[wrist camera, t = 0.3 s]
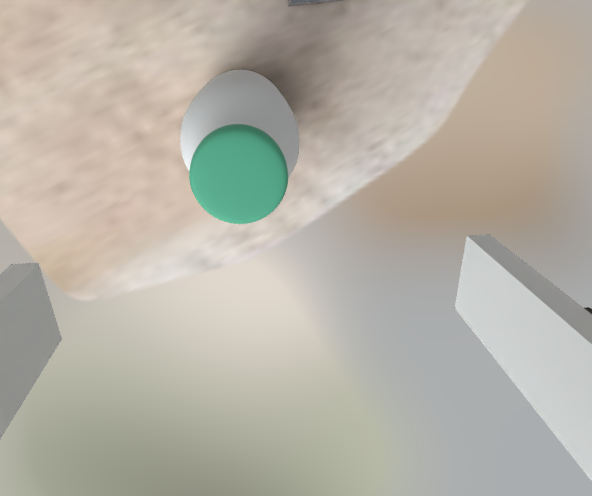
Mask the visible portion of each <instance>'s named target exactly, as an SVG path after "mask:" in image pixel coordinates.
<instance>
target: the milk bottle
mask: <svg viewBox="0 0 592 496" xmlns="http://www.w3.org/2000/svg"><path fill="white" fill-rule="evenodd" d="M180 144H181V152H182V156H183V159H184V162H185V164H186V166H187V168H188V170H189V178H190V185H191V188H192V191H193V194H194V196H195V198H196V199H197V201H198V202H199V204H200V205H201V206H202V207H203V208H204V209H205V210H206V211H207V212H208V213H209V214H211V215H212V216H214V217H215V218H217V219H219V220H222V221H225V222H228V223H234V224H245V223H251V222H255V221H258V220H260V219H262V218H264V217H266V216H267V215H269V214H270V213H271V212H272V211H273V210H274V209H275V208H276V207H277V206H278V205H279V203H280V202H281V200H282V199H283V197H284V194H285V192H286V189H287V184H288V178H289V176H290V175H291V173H292V171H293V169H294V167H295V164H296V162H297V158H298V153H299V131H298V126H297V123H296V120H295V117H294V115H293V112H292V110H291V108H290V106H289V105H288V103H287V101H286V100H285V98H284V97H283V96H282V94H281V93H280V92H279V90H278V89H277V88H276V87H275V85H274V84H273V83H272V82H270V81H269V80H268V79H267V78H265V77H264V76H262V75H260V74H258V73H255V72H253V71H249V70H231V71H227V72H224V73H222V74H220V75H218V76H216V77H215V78H213V79H212V80H211V81H210V82H208V83H207V84H206V85H205V86H204V87H203V88H202V90H201V91H200V92H199V93H198V94H197V95H196V96H195V98H194V99H193V100H192V102H191V104H190V105H189V107H188V109H187V111H186V113H185V116H184V118H183V122H182V126H181V135H180Z"/></svg>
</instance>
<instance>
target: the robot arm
mask: <svg viewBox="0 0 592 496" xmlns="http://www.w3.org/2000/svg"><path fill="white" fill-rule="evenodd" d="M455 309H456V310H457V311H458V313H459V314H460V315H461V317H462V318H463V319H464V320H465V322H466V323H467V324H468V325H469V327H470V328H471V329H472V330H473V332H474V333H475V334H476V335H477V337H478V338H479V339H480V341H481V342H482V343H483V344H484V346H485V347H486V348H487V349H488V351H489V352H490V353H491V354H492V356H493V357H494V358H495V359H496V361H497V362H498V363H499V365H500V366H501V367H502V368H503V370H504V371H505V372H506V373H507V375H508V376H509V377H510V378H511V380H512V381H513V382H514V384H515V385H516V386H517V387H518V388H519V390H520V391H521V392H522V394H523V395H524V396H525V397H526V399H527V400H528V401H529V402H530V404H531V405H532V406H533V408H534V409H535V410H536V411H537V413H538V414H539V415H540V416H541V418H542V419H543V420H544V421H545V423H546V424H547V425H548V426H549V428H550V429H551V430H552V432H553V433H554V434H555V435H556V436H557V438H558V439H559V440H560V442H561V443H562V444H563V445H564V447H565V448H566V449H567V451H568V452H569V453H570V454H571V456H572V457H573V458H574V459H575V461H576V462H577V463H578V464H579V466H580V467H581V468H582V469H583V471H584V472H585V473H586V475H587V476H588V477H589V478H590V479H591V481H592V309H591V308H583V307H582V306H581V305H579V304H578V303H577V302H575V301H574V300H573V299H571V298H570V297H569V296H568V295H566V294H565V293H564V292H563V291H561V290H560V289H559V288H557V287H556V286H555V285H554V284H552V283H551V282H550V281H549V280H547V279H546V278H545V277H544V276H542V275H541V274H540V273H538V272H537V271H536V270H535V269H533V268H532V267H531V266H529V265H528V264H527V263H526V262H524V261H523V260H522V259H520V258H519V257H518V256H517V255H515V254H514V253H513V252H512V251H510V250H509V249H508V248H506V247H505V246H504V245H503V244H501V243H500V242H498V240H496V239H495V238H494V237H492V236H491V235H490V234H486V235H470V236H467V237H466V243H465V250H464V256H463V262H462V268H461V274H460V280H459V286H458V293H457V298H456V304H455ZM61 340H62V338H61V335H60V331H59V329H58V325H57V322H56V318H55V315H54V312H53V309H52V306H51V302H50V299H49V296H48V292H47V290H46V286H45V283H44V280H43V277H42V273H41V270H40V267H39V263H27V264H11V265H10V266H9V267H8V268H7V269H6V270H5V271H4V272H3V273H1V274H0V439H1V437H2V436H3V434H4V432H5V431H6V429H7V427H8V426H9V424H10V423H11V421H12V419H13V418H14V416H15V414H16V413H17V411H18V409H19V408H20V406H21V405H22V403H23V401H24V400H25V398H26V396H27V395H28V393H29V392H30V390H31V388H32V387H33V385H34V383H35V382H36V380H37V378H38V377H39V375H40V373H41V372H42V370H43V369H44V367H45V366H46V364H47V362H48V360H49V359H50V357H51V356H52V354H53V353H54V351H55V349H56V348H57V346H58V344H59V342H60V341H61Z"/></svg>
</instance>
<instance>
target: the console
mask: <svg viewBox="0 0 592 496" xmlns="http://www.w3.org/2000/svg"><path fill="white" fill-rule="evenodd" d="M331 1H340V0H288V4H289V6H294V5H303V4H312V3H322V2H331Z"/></svg>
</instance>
